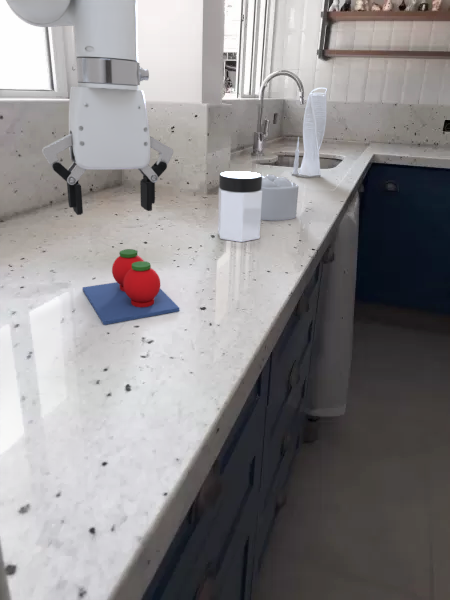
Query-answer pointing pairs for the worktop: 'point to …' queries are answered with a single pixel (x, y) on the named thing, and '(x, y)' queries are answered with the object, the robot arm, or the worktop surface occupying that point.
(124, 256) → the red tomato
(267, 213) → the lumpy-topped squat cylinder
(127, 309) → the cloth
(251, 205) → the jar
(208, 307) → the worktop surface
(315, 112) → the skyscraper
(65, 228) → the worktop surface
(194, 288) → the worktop surface
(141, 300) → the red round lidded pot
